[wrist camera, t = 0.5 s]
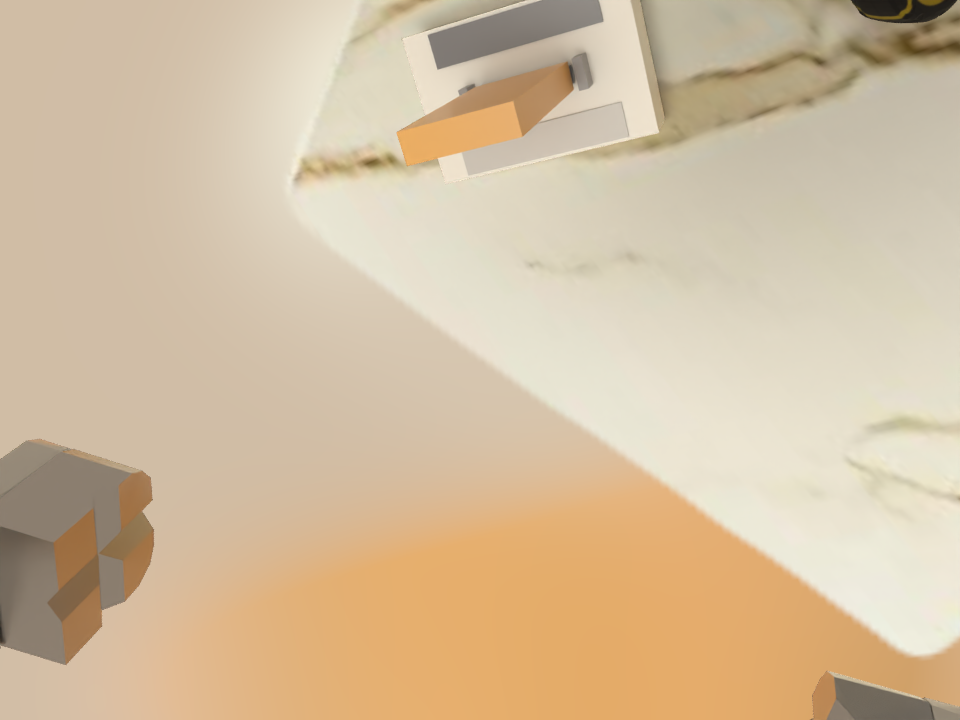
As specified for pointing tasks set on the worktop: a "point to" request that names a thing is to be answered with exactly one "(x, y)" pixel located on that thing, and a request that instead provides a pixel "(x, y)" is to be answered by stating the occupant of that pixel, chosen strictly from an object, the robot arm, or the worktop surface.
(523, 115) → the lever
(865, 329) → the worktop surface
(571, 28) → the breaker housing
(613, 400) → the worktop surface
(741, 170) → the worktop surface
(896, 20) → the tape measure
